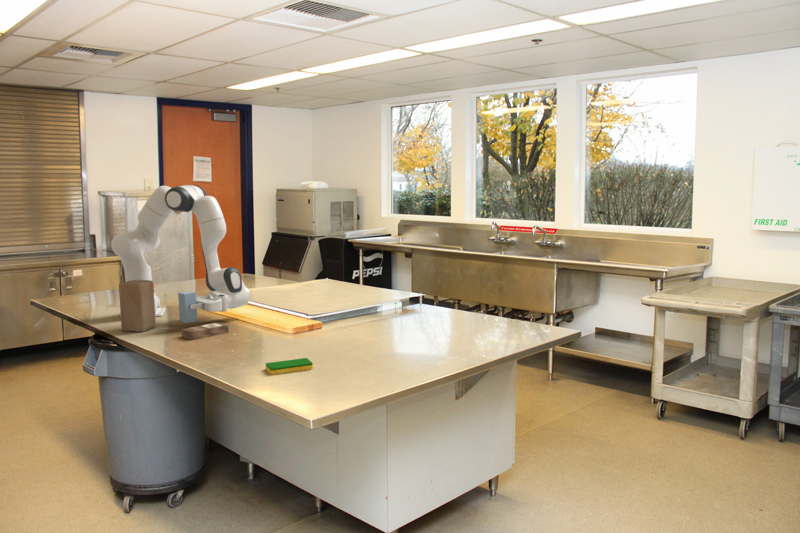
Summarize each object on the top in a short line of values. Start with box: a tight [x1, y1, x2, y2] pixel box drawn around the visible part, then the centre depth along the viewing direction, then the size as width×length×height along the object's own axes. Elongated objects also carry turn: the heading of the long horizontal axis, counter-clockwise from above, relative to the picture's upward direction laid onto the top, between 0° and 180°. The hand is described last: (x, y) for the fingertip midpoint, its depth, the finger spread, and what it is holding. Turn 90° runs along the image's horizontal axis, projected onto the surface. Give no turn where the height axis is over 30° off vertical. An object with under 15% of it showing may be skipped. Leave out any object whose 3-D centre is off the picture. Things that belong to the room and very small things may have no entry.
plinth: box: [180, 321, 229, 341], centre depth 255 cm, size 16×8×3 cm, turn 138°
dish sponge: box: [265, 357, 314, 375], centre depth 207 cm, size 7×14×2 cm, turn 115°
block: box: [118, 280, 157, 333], centre depth 264 cm, size 10×10×20 cm
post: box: [177, 290, 198, 324], centre depth 264 cm, size 5×5×12 cm
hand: (185, 305), depth 263 cm, fingers closed on post, 5 cm apart
